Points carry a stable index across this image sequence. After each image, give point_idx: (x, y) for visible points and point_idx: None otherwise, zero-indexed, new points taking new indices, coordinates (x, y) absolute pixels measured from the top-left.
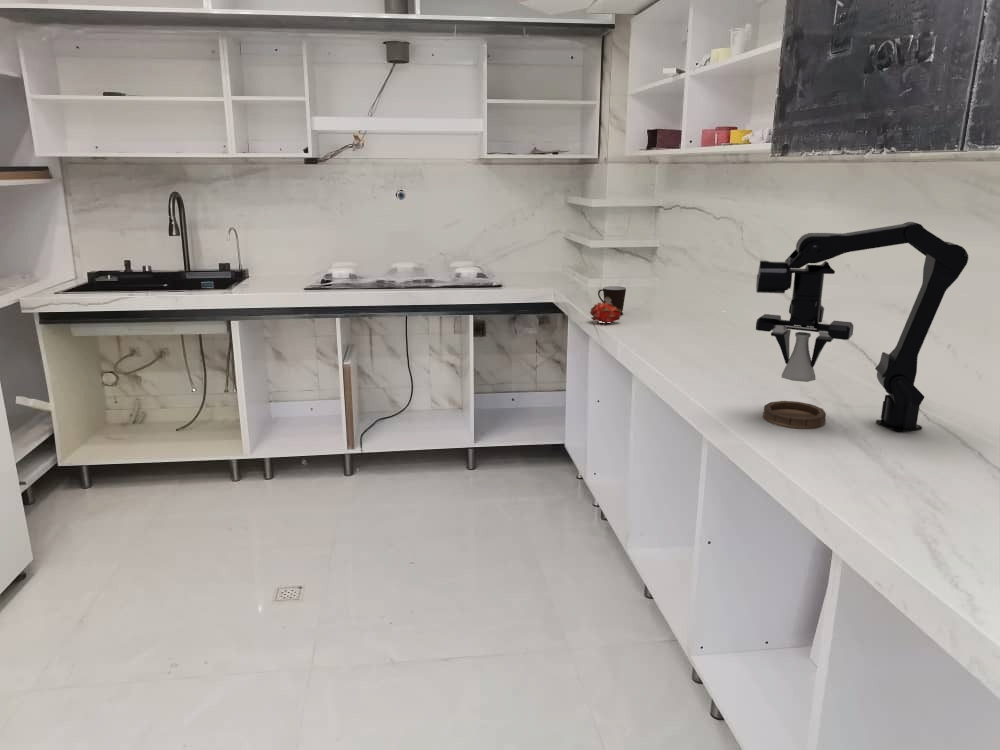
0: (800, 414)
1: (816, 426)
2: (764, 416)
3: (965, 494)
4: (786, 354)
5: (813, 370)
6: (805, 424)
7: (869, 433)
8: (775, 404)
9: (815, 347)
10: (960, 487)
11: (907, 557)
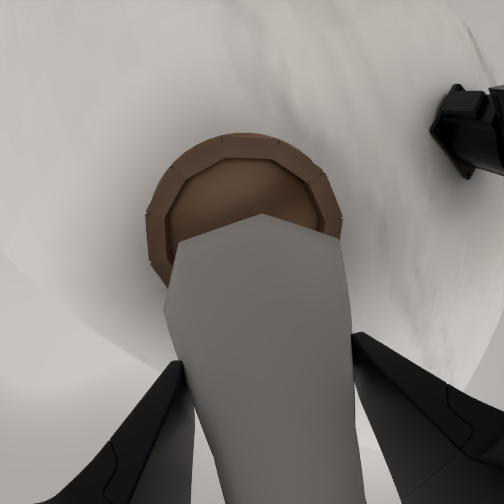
0: (255, 200)
1: None
2: None
3: (475, 352)
4: (191, 455)
5: (349, 313)
6: None
7: (425, 218)
8: (165, 214)
9: (406, 491)
10: (478, 340)
11: None
